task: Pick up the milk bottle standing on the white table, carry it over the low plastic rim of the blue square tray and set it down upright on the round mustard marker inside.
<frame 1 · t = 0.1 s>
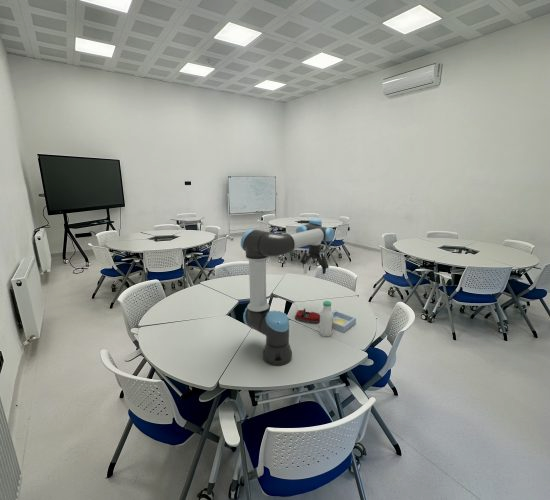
hand: (313, 275, 183), 28 cm above the table, fingers open, 13 cm apart
milk bottle: (325, 333, 168), on the table
bumper car: (306, 319, 185), on the table
blue square tray: (339, 323, 179), on the table
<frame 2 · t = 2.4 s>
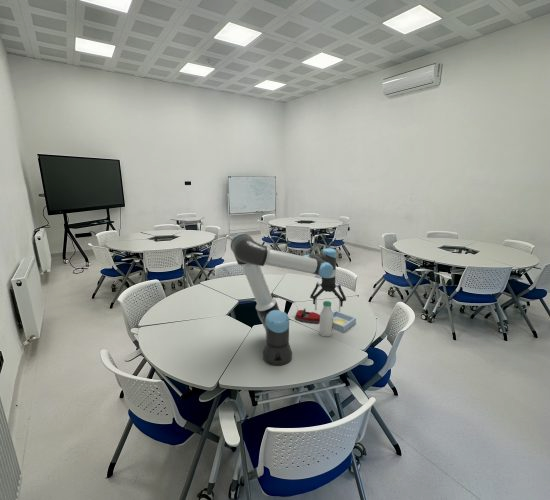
hand: (327, 310, 165), 15 cm above the table, fingers open, 13 cm apart
nothing on the table moved.
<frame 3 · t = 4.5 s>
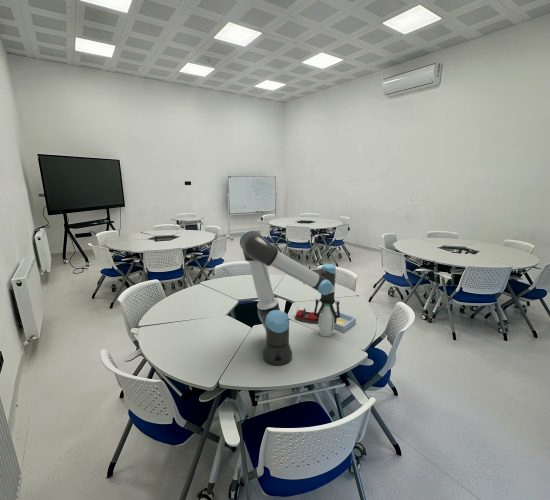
hand: (326, 326, 167), 4 cm above the table, fingers closed on milk bottle, 8 cm apart
milk bottle: (325, 333, 168), on the table, touching gripper
everything else where it was.
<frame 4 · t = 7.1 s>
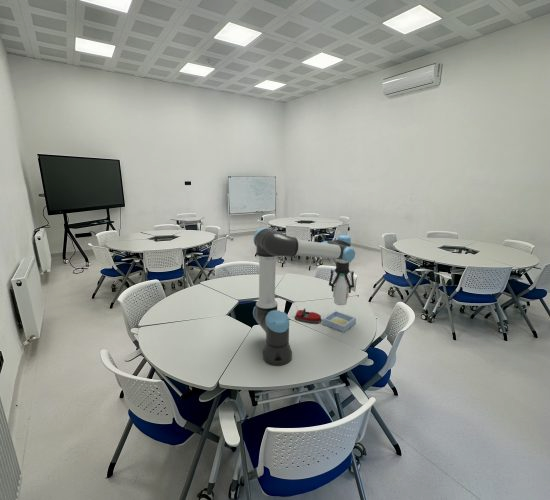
hand: (340, 296, 174), 18 cm above the table, fingers closed on milk bottle, 8 cm apart
milk bottle: (340, 303, 175), point 14 cm above the table, touching gripper
everything else where it was.
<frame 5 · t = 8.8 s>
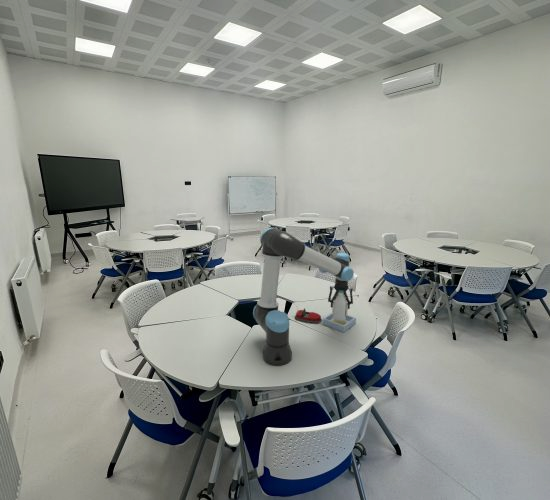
hand: (339, 312, 177), 8 cm above the table, fingers closed on milk bottle, 8 cm apart
milk bottle: (339, 319, 178), point 3 cm above the table, touching gripper
everything else where it was.
when the fingers open (6 cm above the table, at t = 10.0 s): milk bottle moves 1 cm, resting on blue square tray.
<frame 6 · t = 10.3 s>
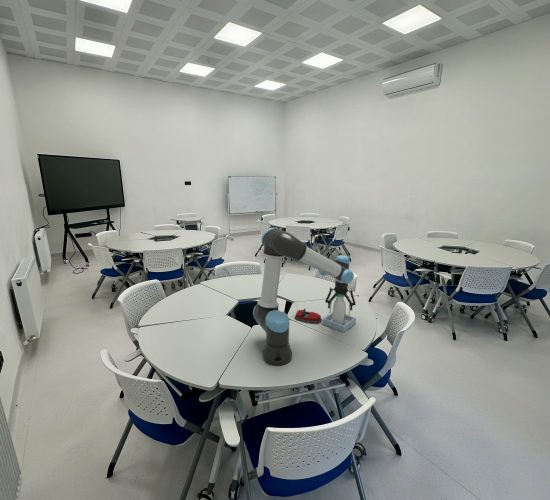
hand: (339, 313, 177), 7 cm above the table, fingers open, 11 cm apart
milk bottle: (338, 322, 179), point 1 cm above the table, touching blue square tray
everything else where it was.
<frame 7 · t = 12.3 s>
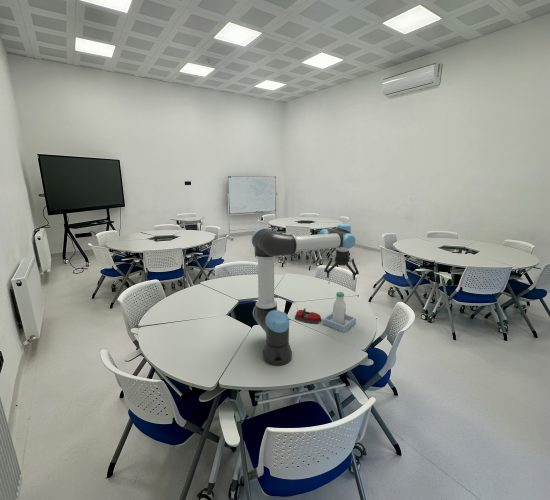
hand: (340, 283, 172), 27 cm above the table, fingers open, 13 cm apart
nothing on the table moved.
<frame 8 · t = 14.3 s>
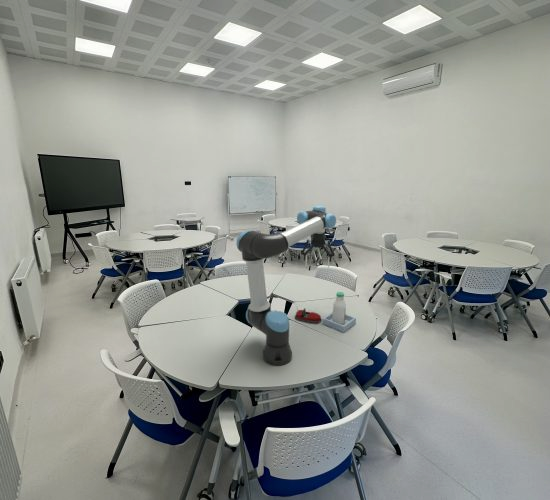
hand: (317, 266, 175), 37 cm above the table, fingers open, 13 cm apart
nothing on the table moved.
at the end: milk bottle inside the target area on the blue square tray (0.4 cm from its centre), point 0.7 cm above the blue square tray's base; milk bottle tilted 0°; the gripper is holding nothing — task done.
